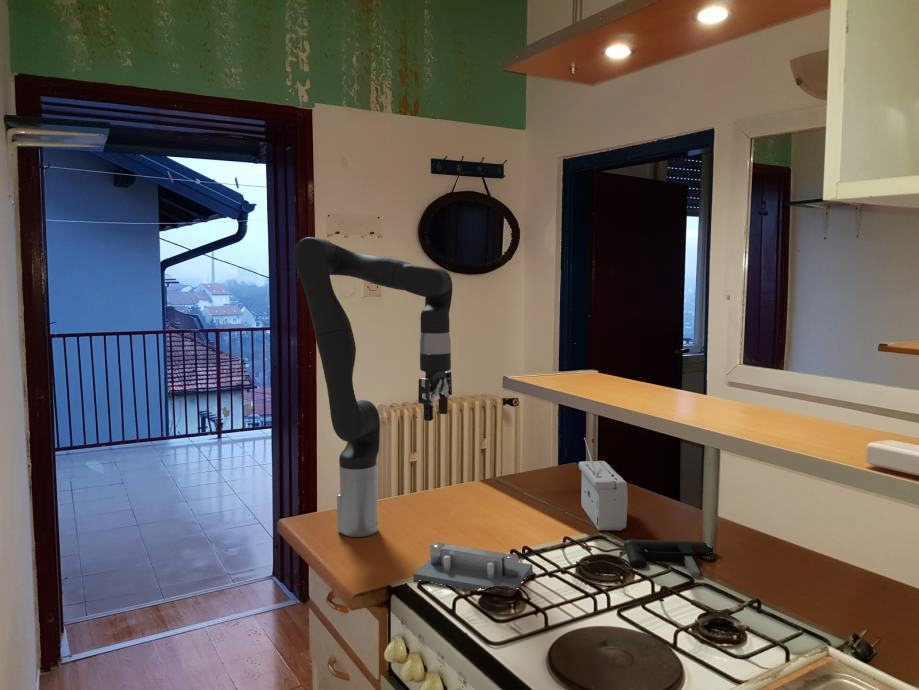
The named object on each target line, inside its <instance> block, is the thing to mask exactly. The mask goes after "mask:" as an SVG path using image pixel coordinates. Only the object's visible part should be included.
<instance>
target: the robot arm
mask: <svg viewBox="0 0 919 690" xmlns="http://www.w3.org/2000/svg"><path fill="white" fill-rule="evenodd" d="M293 252H294V253H293V256H294V257H293V258H294V263H295V267H296V270H297V273H298V277H299V279H300V282H301V284H302V287H303V292H304V295H305V297H306V300H307V304H308V305H307V306H308V309H309V314H310V318H311V322H312V328H313V331H314V337H315V342H316V345H317V349H318V353H319V356H320V361H321V365H322V369H323V375H324V380H325V385H326V388H327V389H326V390H327V396H328V404H329V410H330V411H329V413H330V418H331V419H330V421H331V425H332V428H333V430H334V433H335V434H336V436H337V437H338V438H339V439H340V440H341V441H343V442H347V443H346V445H345V447H344V449H343V450H342V452H341V453H340V454H339V459H338V461H339V463H338V464H339V489H340V490H339V494H337V496H336V512H337V515H336V516H337V532H338V533H341V534H342V535H344V536H346V537H350V538H351V537H353V538H361V537H362V538H363V537H368V536H371V535H374V534H376V533H377V532H378V528H379V527H378V524H379V522H378V487H377V486H378V485H377V484H378V479H377V478H378V477H377V474H378V473H377V471H378V470H377V457H378V454H379V451H380V440H381V439H380V438H381V437H380V431H381V430H380V429H381V423H380V422H381V421H380V420H381V418H380V414H379V411H378V409H377V407H376V405H375V404H374V403H373V402H371V401H369V400H364V399H359V400H357V399H356V395H355V390H354V386H353V385H354V381H353V375H354V369H355V362H356V355H357V348H356V347H357V345H356V341H355V336H354V333H353V328H352V323H351V321H350V319H349V317H348V314H347V313H346V311H345V309H344V308H343V306H342V304H341V303H340V301H339V299H338V297H337V295H336V293H335V290H334V288H333V285H332V280H331V276H345V277H352V278H357V279H360V280H363V281H366V282H369V283H371V284H373V285H377V286H380V287H381V286H382V287H385V288H389V289H394V290H398V291H405V292H408V293H411V294H413V295H416V296H418V297H419V296H420V297H423V298H425V299H424V308H423V309H422V310H421V313H420V318H419V320H420V335H419V336H420V337H419V338H420V339H419V370H420V371H421V372H424V373H425V376H424V377H419V378H418V393H417V395H418V398H417V399H418V404H421V405H423V420H424V421H427V422H428V421H429V422H432V421H433V420H434V401H435V399H436V398H437V397H438V414H440V415H447V414H448V413H449V406H448V405H449V401H448V400H449V398H450V396H452V394H453V386H452V385H453V384H452V381H453V380H452V371H451V370H452V353H451V352H452V351H451V350H452V349H451V348H452V347H451V346H452V345H451V344H452V343H451V334H450V310H451V305H452V297H453V280H452V276H451V275H450V274H449V272H448V271H447V270H445V269H443V268H439V267H438V268H434V267H426V266H421V265H415V264H411V263H410V262H407V261H403V260H398V259H395V258H389V257H386V256H378V255H372V254H370V255H369V254H364V253H360V252H356V251H352V250H350V249H347V248H344V247H342V246H340V245H338V244H335V243H333V242H331V241H329V240H327V239H324V238H317V237H313V236H311V237H310V236H308V237H304V238H301V239H300V240H299V241H298V242H297V243H296V245H295V248H294V251H293Z"/></svg>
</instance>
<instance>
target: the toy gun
mask: <svg viewBox="0 0 919 690" xmlns="http://www.w3.org/2000/svg"><path fill="white" fill-rule="evenodd" d="M704 542H705V541H697V540H696V541H695V540H694V541H693V540H663V539H662V540H660V539H658V540H657V539H656V540H655V539H627V540H625V541H624V543H623V549H624V548H626V549H627V553H626V556H627V560H628V563H629V566H630V565H631V566H630V567H631V568H634V569H645V568H646V567H647V565H648V562H652V561H659V563H660V562H661V563H682V564H684V565H685V567H686V570H687V571H688V573H689V575H690V577H691V578H698V579H699V578H701V577H700V576H701V572H700V570H699V568H698V566H697V564H696V562H695V556H697V555H698V556H707V555H706V554H708V553H710V552H711V553H714V546H713V547H712V548H710V547H708V546H707V545H706V543H704Z"/></svg>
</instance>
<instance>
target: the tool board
mask: <svg viewBox="0 0 919 690" xmlns="http://www.w3.org/2000/svg"><path fill="white" fill-rule="evenodd" d="M533 567H534V566H533V564H532V563H525V562H519V576H518V577H516V578H506V577H504V576H497V575H494V563H488V564H487V574H485V573H479V572H473V571H467V570H461V569H455V568H450V556H444V567H443V566H434V565H431V564H430V559H429V560H428V561H426V562H425V563H424V564H423V565H422V566H421V567H419V568H418V569H416V571H415V572H414V573H413V574H412V575H413V577H412V578H413V581H414V580H421V581H430V582H433V583H437V584H442V585H446V584H448V585H451V586H453V587H456V588H455V589H458V588H463V589H462V590H464V589H465V591H470V592H474V591H473V590H475V589H477V588H481V589H485V588H489V587H493V586H508V587H510V588H513V589H514V588H519V587H520V585H521V582H522V581H523V579H524V578H525V577H527V576H528V577H530V575H531V574H532V573H533ZM442 585H441V586H442ZM453 587H452V588H453ZM520 588H521V587H520ZM520 588H519V589H520Z"/></svg>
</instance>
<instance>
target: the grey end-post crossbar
mask: <svg viewBox="0 0 919 690" xmlns="http://www.w3.org/2000/svg"><path fill="white" fill-rule="evenodd" d="M429 546H430V547H429V550H430V551H429V552H430V553H429V555H430V556H429V557H430V559H429V560H430V564H431V565H434V566H443V567H444V556H450V568H455V569H461V570H467V571H473V572H479V573H485V574H487V564H488V563H494V575H497V576H504V577H506V578H516V577H518V576H519V561H520V559H519V555H518V554H514V553H506V552H500V551H494V550H493V551H492V550H485V549H479V548H472V547H466V546H460V545H455V544H445V543H442V542H433V543H431V544H430V545H429Z"/></svg>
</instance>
